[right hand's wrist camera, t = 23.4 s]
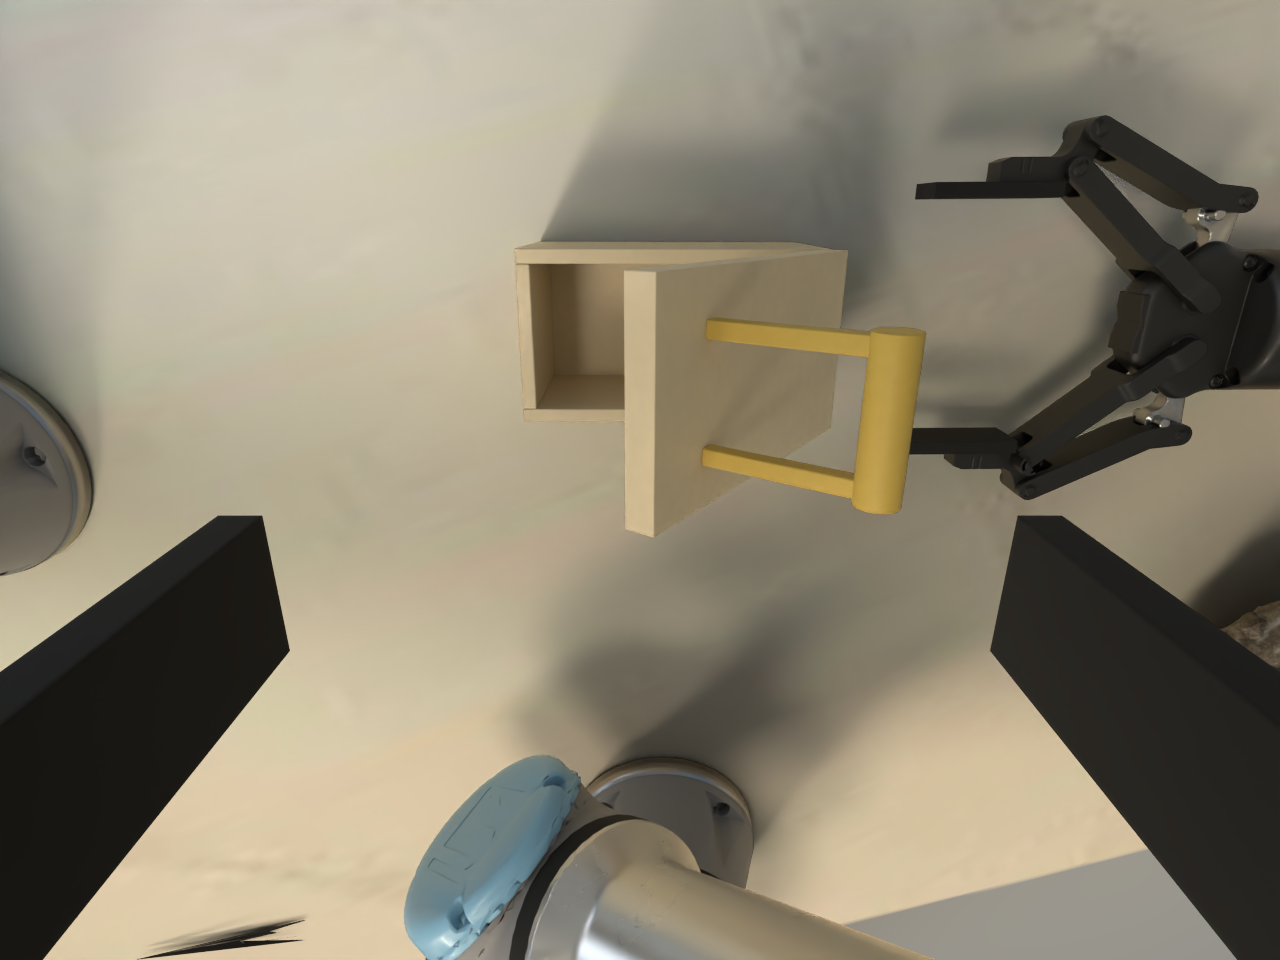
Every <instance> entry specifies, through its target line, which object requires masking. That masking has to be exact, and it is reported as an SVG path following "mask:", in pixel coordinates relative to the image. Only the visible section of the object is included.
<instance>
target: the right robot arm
mask: <svg viewBox="0 0 1280 960" xmlns="http://www.w3.org/2000/svg"><path fill="white" fill-rule="evenodd" d="M90 504H91V481H90V476H89V471H88V467H87V464H86V461H85V458H84V456H83V453H82V451H81V449H80V447H79V445H78V442H77V441H76V439H75V437H74V436H73V434H72V432H71V431H70V429H69V428H68V427H67V425H66V424H65V422H64V421H63V420H62V419H61V417H60V416H59V415H58V414H57V413H56V412H55V411H54V410H53V409H52V407H51V406H50V405H49V404H48V403H47V402H45V401H44V400H43V399H42V398H41V397H40V396H39V395H38V394H36V393H35V392H34V391H32V390H31V389H30V388H28V387H27V386H26V385H24V384H23V383H21V382H19V381H18V380H16V379H15V378H13V377H11V376H9V375H7V374H6V373H4V372H1V371H0V576H5V575H10V574H14V573H18V572H21V571H25V570H28V569H30V568H32V567H35V566H37V565H38V564H40V563H42V562H44V561H46V560H47V559H49V558H51V557H52V556H54V555H56V554H58V553H59V552H61V551H62V550H64V549H65V548H66V547H68V546H69V545H70V544H71V543H72V542H73V541H74V540H75V538H76V537H77V536H78V535H79V533H80V532H81V530H82V528H83V527H84V524H85V522H86V520H87V517H88V514H89V510H90ZM289 651H290V649H289V644H288V639H287V635H286V630H285V625H284V620H283V615H282V610H281V605H280V600H279V595H278V590H277V586H276V581H275V576H274V571H273V566H272V561H271V556H270V551H269V546H268V541H267V537H266V532H265V527H264V522H263V517H262V516H217V517H216V518H214V519H213V520H211V521H210V522H209V523H207V524H206V525H205V526H203V527H202V528H200V529H199V530H198V531H196V532H195V533H193V534H192V535H191V536H189V537H188V538H186V539H185V540H184V541H182V542H181V543H179V544H178V545H177V546H175V547H174V548H172V549H171V550H170V551H168V552H167V553H165V554H164V555H163V556H161V557H160V558H159V559H157V560H156V561H154V562H153V563H152V564H150V565H149V566H147V567H146V568H145V569H143V570H142V571H140V572H139V573H138V574H136V575H135V576H133V577H132V578H131V579H129V580H128V581H126V582H125V583H124V584H122V585H121V586H120V587H118V588H117V589H115V590H114V591H113V592H111V593H110V594H108V595H107V596H106V597H104V598H103V599H101V600H100V601H99V602H97V603H96V604H94V605H93V606H92V607H90V608H89V609H87V610H86V611H85V612H83V613H82V614H80V615H79V616H78V617H76V618H75V619H74V620H72V621H71V622H69V623H68V624H67V625H65V626H64V627H62V628H61V629H60V630H58V631H57V632H55V633H54V634H53V635H51V636H50V637H48V638H47V639H46V640H44V641H43V642H41V643H40V644H39V645H37V646H36V647H34V648H33V649H32V650H30V651H29V652H28V653H26V654H25V655H23V656H22V657H21V658H19V659H18V660H16V661H15V662H14V663H12V664H11V665H9V666H8V667H7V668H5V669H4V670H2V671H1V672H0V960H43V959H44V957H45V956H46V955H47V954H48V952H49V951H50V950H51V949H52V947H53V946H54V945H55V944H56V942H57V941H58V940H59V939H60V937H61V936H62V935H63V934H64V932H65V931H66V930H67V929H68V927H69V926H70V925H71V924H72V922H73V921H74V920H75V919H76V917H77V916H78V915H79V914H80V912H81V911H82V910H83V909H84V907H85V906H86V905H87V904H88V902H89V901H90V900H91V899H92V897H93V896H94V895H95V894H96V892H97V891H98V890H99V889H100V887H101V886H102V885H103V884H104V882H105V881H106V880H107V879H108V877H109V876H110V875H111V874H112V872H113V871H114V870H115V869H116V867H117V866H118V865H119V864H120V862H121V861H122V860H123V859H124V857H125V856H126V855H127V854H128V852H129V851H130V850H131V849H132V847H133V846H134V845H135V844H136V842H137V841H138V840H139V839H140V837H141V836H142V835H143V834H144V832H145V831H146V830H147V829H148V827H149V826H150V825H151V824H152V822H153V821H154V820H155V819H156V817H157V816H158V815H159V814H160V812H161V811H162V810H163V809H164V807H165V806H166V805H167V804H168V802H169V801H170V800H171V799H172V797H173V796H174V795H175V794H176V792H177V791H178V790H179V789H180V787H181V786H182V785H183V784H184V782H185V781H186V780H187V779H188V777H189V776H190V775H191V774H192V772H193V771H194V770H195V769H196V767H197V766H198V765H199V764H200V762H201V761H202V760H203V759H204V757H205V756H206V755H207V754H208V752H209V751H210V750H211V749H212V747H213V746H214V745H215V744H216V742H217V741H218V740H219V739H220V737H221V736H222V735H223V734H224V732H225V731H226V730H227V729H228V727H229V726H230V725H231V724H232V722H233V721H234V720H235V719H236V717H237V716H238V715H239V714H240V712H241V711H242V710H243V709H244V707H245V706H246V705H247V704H248V702H249V701H250V700H251V699H252V697H253V696H254V695H255V694H256V692H257V691H258V690H259V689H260V687H261V686H262V685H263V684H264V682H265V681H266V680H267V679H268V677H269V676H270V675H271V674H272V672H273V671H274V670H275V669H276V667H277V666H278V665H279V664H280V662H281V661H282V660H283V659H284V657H285V656H286V655H287V654H288V652H289ZM990 651H991V652H992V654H993V655H994V656H995V657H996V659H997V660H998V661H999V662H1000V664H1001V665H1002V666H1003V667H1004V669H1005V670H1006V671H1007V672H1008V674H1009V675H1010V676H1011V677H1012V679H1013V680H1014V681H1015V682H1016V684H1017V685H1018V686H1019V687H1020V689H1021V690H1022V691H1023V692H1024V694H1025V695H1026V696H1027V697H1028V699H1029V700H1030V701H1031V702H1032V704H1033V705H1034V706H1035V707H1036V709H1037V710H1038V711H1039V712H1040V714H1041V715H1042V716H1043V717H1044V719H1045V720H1046V721H1047V722H1048V724H1049V725H1050V726H1051V727H1052V729H1053V730H1054V731H1055V732H1056V734H1057V735H1058V736H1059V737H1060V739H1061V740H1062V741H1063V742H1064V744H1065V745H1066V746H1067V747H1068V749H1069V750H1070V751H1071V752H1072V754H1073V755H1074V756H1075V757H1076V759H1077V760H1078V761H1079V762H1080V764H1081V765H1082V766H1083V767H1084V769H1085V770H1086V771H1087V772H1088V774H1089V775H1090V776H1091V777H1092V779H1093V780H1094V781H1095V782H1096V784H1097V785H1098V786H1099V787H1100V789H1101V790H1102V791H1103V792H1104V794H1105V795H1106V796H1107V797H1108V799H1109V800H1110V801H1111V802H1112V804H1113V805H1114V806H1115V807H1116V809H1117V810H1118V811H1119V812H1120V814H1121V815H1122V816H1123V817H1124V819H1125V820H1126V821H1127V822H1128V824H1129V825H1130V826H1131V827H1132V829H1133V830H1134V831H1135V832H1136V834H1137V835H1138V836H1139V837H1140V839H1141V840H1142V841H1143V842H1144V844H1145V845H1146V846H1147V847H1148V849H1149V850H1150V851H1151V852H1152V854H1153V855H1154V856H1155V857H1156V859H1157V860H1158V861H1159V862H1160V864H1161V865H1162V866H1163V867H1164V869H1165V870H1166V871H1167V872H1168V874H1169V875H1170V876H1171V877H1172V879H1173V880H1174V881H1175V882H1176V884H1177V885H1178V886H1179V887H1180V889H1181V890H1182V891H1183V892H1184V894H1185V895H1186V896H1187V897H1188V899H1189V900H1190V901H1191V902H1192V904H1193V905H1194V906H1195V907H1196V909H1197V910H1198V911H1199V912H1200V914H1201V915H1202V916H1203V917H1204V919H1205V920H1206V921H1207V922H1208V924H1209V925H1210V926H1211V927H1212V929H1213V930H1214V931H1215V932H1216V934H1217V935H1218V936H1219V937H1220V939H1221V940H1222V941H1223V942H1224V944H1225V945H1226V946H1227V947H1228V949H1229V950H1230V951H1231V952H1232V954H1233V955H1234V956H1235V957H1236V959H1237V960H1280V669H1278V668H1276V667H1274V666H1272V665H1269V664H1268V663H1266V662H1265V661H1264V660H1262V659H1261V658H1259V657H1258V656H1257V655H1255V654H1254V653H1252V652H1251V651H1250V650H1248V649H1247V648H1246V647H1244V646H1243V645H1241V644H1240V643H1239V642H1237V641H1236V640H1234V639H1233V638H1232V637H1230V636H1229V635H1227V634H1226V633H1225V632H1223V631H1222V630H1220V629H1219V628H1218V627H1216V626H1215V625H1213V624H1212V623H1211V622H1209V621H1208V620H1206V619H1205V618H1204V617H1202V616H1201V615H1200V614H1198V613H1197V612H1195V611H1194V610H1193V609H1191V608H1190V607H1188V606H1187V605H1186V604H1184V603H1183V602H1181V601H1180V600H1179V599H1177V598H1176V597H1174V596H1173V595H1172V594H1170V593H1169V592H1167V591H1166V590H1165V589H1163V588H1162V587H1160V586H1159V585H1158V584H1156V583H1155V582H1154V581H1152V580H1151V579H1149V578H1148V577H1147V576H1145V575H1144V574H1142V573H1141V572H1140V571H1138V570H1137V569H1135V568H1134V567H1133V566H1131V565H1130V564H1128V563H1127V562H1126V561H1124V560H1123V559H1121V558H1120V557H1119V556H1117V555H1116V554H1115V553H1113V552H1112V551H1110V550H1109V549H1108V548H1106V547H1105V546H1103V545H1102V544H1101V543H1099V542H1098V541H1096V540H1095V539H1094V538H1092V537H1091V536H1089V535H1088V534H1087V533H1085V532H1084V531H1082V530H1081V529H1080V528H1078V527H1077V526H1075V525H1074V524H1073V523H1071V522H1070V521H1069V520H1067V519H1066V518H1064V517H1063V516H1018V517H1017V522H1016V527H1015V532H1014V537H1013V541H1012V546H1011V551H1010V556H1009V561H1008V566H1007V571H1006V576H1005V581H1004V586H1003V590H1002V595H1001V600H1000V605H999V610H998V615H997V620H996V625H995V630H994V635H993V639H992V644H991V649H990Z"/></svg>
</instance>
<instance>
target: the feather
mask: <svg viewBox="0 0 1280 960" xmlns="http://www.w3.org/2000/svg"><path fill="white" fill-rule="evenodd" d="M302 921H304V920H302ZM298 922H299V923H300V922H301V921H298ZM298 922H293V923H289V924H285V925H281V926H276V927H272V928H268V929H264V930H259V931H255V932H251V933H247V934H243V935H238V936H234V937H230V938H226V939H221V940H217V941H213V942H209V943H204V944H200V945H196V946H192V947H187V948H183V949H179V950H175V951H170V952H166V953H162V954H158V955H153V956H149V957H145V958H154V957H163V956H171V955H180V954H189V953H197V952H206V951H215V950H223V949H232V948H241V947H249V946H258V945H267V944H276V943H284V942H293V941H301V940H275V939H273V940H271V941H268V940H265V941H244V940H248V939H251V938H255V937H260V936H264V935H269V934H274V933H276V932H270V931H272V930H275V929H279V928H282V927H285V926H288V925H292V924H295V923H298ZM288 931H289V930H288ZM278 933H279V932H278ZM295 937H296V936H295ZM288 938H289V937H288ZM281 939H282V938H281ZM145 958H141V959H145ZM137 960H138V959H137Z"/></svg>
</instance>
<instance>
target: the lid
mask: <svg viewBox="0 0 1280 960" xmlns="http://www.w3.org/2000/svg"><path fill="white" fill-rule="evenodd" d="M847 258H848V250H815V251H805V252H795V253H785V254H775V255H766V256H756V257H746V258H736V259H726V260H716V261H706V262H696V263H687V264H677V265H667V266H657V267H647V268H637V269H627V270H624V374H625V528H626V529H627V530H630V531H634V532H637V533H640V534H643V535H647V536H650V537H655V536H657V535H658V534H660V533H662V532H663V531H665V530H666V529H668V528H670V527H671V526H673V525H675V524H676V523H678V522H679V521H681V520H683V519H684V518H686V517H687V516H689V515H691V514H692V513H694V512H696V511H697V510H699V509H700V508H702V507H704V506H705V505H707V504H708V503H710V502H712V501H713V500H715V499H717V498H718V497H720V496H721V495H723V494H725V493H726V492H728V491H729V490H731V489H733V488H734V487H736V486H738V485H739V484H741V483H742V482H744V481H746V480H747V479H749V478H750V477H757V478H761V479H766V480H770V481H775V482H779V483H783V484H788V485H792V486H797V487H801V488H806V489H810V490H815V491H819V492H824V493H828V494H833V495H837V496H841V497H846V498H850V499H851V503H852V505H853V506H854V507H855V508H857V509H859V510H861V511H864V512H868V513H873V514H893V513H896V512H898V511H899V510H900V509H901V506H902V499H903V492H904V485H905V478H906V471H907V464H908V457H909V450H910V443H911V436H912V429H913V422H914V415H915V408H916V401H917V394H918V387H919V380H920V373H921V366H922V359H923V352H924V345H925V338H926V332H925V331H922V330H919V329H913V328H904V327H879V328H874V329H872V330H871V332H869V331H858V330H847V329H840V327H841V318H842V308H843V298H844V288H845V278H846V268H847ZM838 354H841V355H850V356H859V357H868V359H867V367H866V376H865V385H864V394H863V402H862V411H861V420H860V428H859V437H858V446H857V454H856V463H855V472H854V473H850V472H845V471H840V470H835V469H830V468H825V467H820V466H815V465H810V464H805V463H801V462H796V461H791V460H786V459H781V458H783V457H784V456H786V455H788V454H789V453H791V452H792V451H794V450H796V449H797V448H799V447H801V446H802V445H804V444H805V443H807V442H809V441H810V440H812V439H813V438H815V437H817V436H818V435H820V434H822V433H823V432H825V431H826V430H828V429H830V427H831V417H832V407H833V397H834V387H835V377H836V367H837V357H838Z"/></svg>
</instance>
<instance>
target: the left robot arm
mask: <svg viewBox="0 0 1280 960" xmlns="http://www.w3.org/2000/svg"><path fill="white" fill-rule="evenodd" d="M1093 161H1094V162H1095V163H1097V164H1099V165H1100V166H1102V167H1104V168H1105V169H1107V170H1109V171H1110V172H1112V173H1114V174H1115V175H1117V176H1119V177H1120V178H1122V179H1124V180H1125V181H1127V182H1129V183H1130V184H1132V185H1134V186H1135V187H1137V188H1139V189H1140V190H1142V191H1144V192H1145V193H1147V194H1149V195H1150V196H1152V197H1154V198H1155V199H1157V200H1159V201H1160V202H1162V203H1164V204H1166V205H1168V206H1170V207H1173V208H1176V209H1180V210H1185V211H1184V212H1183V214H1182V219H1183V220H1186V222H1187V224H1188V225H1190V226H1192V227H1194V228H1195V229H1196V230H1197V233H1198V237H1197V241H1195V242H1192V243H1189V244H1188V245H1186V246H1184V247H1183V248H1181V249H1180V250H1178V249H1177V248H1175V247H1174V246H1172V245H1170V244H1168V243H1166V242H1165V241H1164V240H1163V239H1162V238H1161V237H1160V236H1159V235H1158V234H1157V233H1156V231H1155V230H1154V229H1153V228H1152V227H1151V226H1150V225H1149V224H1148V223H1147V221H1146V220H1145V219H1144V218H1143V217H1142V216H1141V215H1140V214H1139V212H1138V211H1137V210H1136V209H1135V208H1134V207H1133V206H1132V205H1131V203H1130V202H1129V201H1128V200H1127V199H1126V198H1125V197H1124V196H1123V194H1122V193H1121V192H1120V191H1119V190H1118V189H1117V188H1116V187H1115V185H1114V184H1113V183H1112V182H1111V181H1110V180H1109V179H1108V178H1107V177H1106V175H1105V174H1104V173H1103V172H1102V171H1101V170H1100V169H1099V168H1098V166H1097V165H1096V164H1095V163H1094V162H1093ZM1058 197H1061V198H1062V199H1063V200H1064V201H1065V202H1066V204H1067V205H1068V206H1069V207H1070V208H1071V209H1072V210H1073V211H1074V212H1075V213H1076V214H1077V215H1078V217H1079V218H1080V219H1081V220H1082V221H1083V222H1084V223H1085V224H1086V225H1087V226H1088V227H1089V228H1090V230H1091V231H1092V232H1093V233H1094V234H1095V235H1096V236H1097V237H1098V238H1099V239H1100V240H1101V242H1102V243H1103V244H1104V245H1105V246H1106V247H1107V248H1108V249H1109V250H1110V251H1111V252H1112V253H1113V255H1114V256H1115V257H1116V263H1117V264H1118V266H1119V267H1120V268H1121V269H1122V270H1123V271H1124V272H1125V273H1126V274H1127V275H1128V276H1129V277H1130V279H1131V280H1132V282H1131V283H1130V284H1129V286H1128V287H1127V289H1126V291H1120V295H1119V300H1118V304H1117V312H1118V320H1117V322H1116V324H1115V326H1114V328H1113V330H1112V332H1111V335H1110V340H1109V344H1108V347H1110V348H1112V349H1113V354H1114V355H1113V356H1111V357H1110V358H1108V359H1107V360H1106V361H1104V362H1103V363H1101V364H1100V365H1099V366H1097V367H1096V368H1094V369H1093V370H1092V372H1091V376H1090V377H1089V378H1088V379H1086V380H1085V381H1084V382H1082V383H1081V384H1079V385H1078V386H1077V387H1075V388H1074V389H1072V390H1071V391H1070V392H1068V393H1067V394H1065V395H1064V396H1063V397H1061V398H1060V399H1058V400H1057V401H1056V402H1054V403H1053V404H1051V405H1050V406H1049V407H1047V408H1046V409H1044V410H1043V411H1041V412H1040V413H1039V414H1037V415H1036V416H1034V417H1033V418H1032V419H1030V420H1029V421H1027V422H1026V423H1025V424H1023V425H1022V426H1020V427H1019V428H1018V429H1016V430H1015V431H1013V432H1012V433H1011V434H1009V435H1007V434H1005V433H1004V432H1002V431H1001V430H999V429H997V428H913V429H912V436H911V443H910V450H909V454H944V459H946V460H947V461H948V462H949V463H951V464H952V465H953V466H955V467H958V468H960V469H1001V471H1002V473H1001V475H1000V481H1001V482H1002V484H1004V485H1005V486H1006V487H1008V488H1009V489H1010V490H1012V491H1013V492H1014V493H1016V494H1017V495H1018V496H1020V497H1021V498H1023V499H1024V500H1030V499H1034V498H1036V497H1038V496H1041V495H1043V494H1045V493H1048V492H1050V491H1052V490H1055V489H1057V488H1059V487H1062V486H1064V485H1066V484H1069V483H1071V482H1073V481H1076V480H1078V479H1080V478H1083V477H1085V476H1087V475H1090V474H1092V473H1094V472H1097V471H1099V470H1101V469H1104V468H1106V467H1108V466H1111V465H1113V464H1115V463H1118V462H1120V461H1122V460H1125V459H1127V458H1129V457H1132V456H1134V455H1136V454H1139V453H1141V452H1143V451H1146V450H1148V449H1152V448H1161V447H1170V446H1179V445H1183V444H1185V443H1187V442H1188V441H1189V440H1190V438H1191V436H1192V430H1191V428H1190V427H1189V426H1187V425H1184V424H1182V423H1181V421H1182V415H1183V408H1184V402H1185V397H1188V396H1190V395H1192V394H1194V393H1196V392H1199V391H1202V390H1233V389H1280V250H1237V249H1235V248H1233V247H1232V246H1230V245H1229V244H1227V242H1228V240H1229V237H1230V234H1231V232H1232V229H1233V226H1234V224H1235V221H1236V219H1237V216H1238V213H1245V212H1248V211H1250V210H1251V209H1253V208H1254V207H1255V205H1256V203H1257V202H1258V197H1259V196H1258V192H1257V191H1256V190H1255V189H1254V188H1251V187H1242V186H1234V185H1225V184H1219V183H1217V182H1215V181H1214V180H1212V179H1210V178H1209V177H1207V176H1206V175H1204V174H1202V173H1201V172H1199V171H1197V170H1196V169H1194V168H1193V167H1191V166H1189V165H1188V164H1186V163H1184V162H1183V161H1181V160H1180V159H1178V158H1176V157H1175V156H1173V155H1171V154H1170V153H1168V152H1167V151H1165V150H1163V149H1162V148H1160V147H1158V146H1157V145H1155V144H1154V143H1152V142H1150V141H1149V140H1147V139H1145V138H1144V137H1142V136H1141V135H1139V134H1137V133H1136V132H1134V131H1133V130H1131V129H1129V128H1128V127H1126V126H1124V125H1123V124H1121V123H1120V122H1118V121H1116V120H1115V119H1113V118H1111V117H1109V116H1106V115H1105V116H1099V117H1094V118H1089V119H1085V120H1080V121H1075V122H1072V123H1070V124H1069V125H1068V126H1067V127H1066V128H1065V130H1064V132H1063V143H1062V145H1061V147H1060V148H1059V150H1058V151H1057V152H1056V153H1055V154H1054V155H1053V156H1051V157H1010V158H1003V159H998V160H996V161H993V162H991V163H989V165H988V172H987V178H986V182H934V183H924V184H917V188H916V197H915V199H1009V198H1058ZM1128 372H1130V373H1131V374H1130V375H1127V374H1126V373H1128ZM1151 391H1153V392H1155V393H1157V396H1156V399H1155V401H1154V402H1153V403H1152V404H1150V405H1148V406H1146V407H1143V408H1137V409H1135V410H1134V412H1133V417H1127V418H1123V419H1119V420H1116V421H1114V422H1111V423H1109V424H1106V425H1104V426H1102V427H1100V428H1097V429H1095V430H1093V431H1090V432H1088V433H1086V434H1084V435H1081V436H1079V437H1077V436H1078V435H1079V434H1081V433H1082V432H1084V431H1085V430H1087V429H1088V428H1090V427H1091V426H1092V425H1094V424H1095V423H1097V422H1098V421H1100V420H1101V419H1103V418H1104V417H1105V416H1107V415H1108V414H1110V413H1111V412H1113V411H1114V410H1116V409H1117V408H1118V407H1120V406H1121V405H1123V404H1124V403H1126V402H1129V401H1135V400H1138V399H1140V398H1142V397H1143V396H1145V395H1146V394H1148V393H1149V392H1151ZM1075 437H1077V438H1075ZM753 847H754V837H753V830H752V825H751V819H750V814H749V810H748V807H747V805H746V802H745V800H744V798H743V796H742V795H741V794H740V792H739V791H738V789H737V788H736V787H735V786H734V785H733V784H732V783H731V782H730V781H729V780H728V779H727V778H725V777H724V776H723V775H721V774H720V773H718V772H716V771H715V770H713V769H711V768H709V767H707V766H704V765H702V764H699V763H696V762H692V761H689V760H684V759H678V758H666V757H659V758H646V759H640V760H635V761H632V762H628V763H625V764H623V765H620V766H617V767H615V768H613V769H611V770H609V771H608V772H606V773H604V774H603V775H601V776H600V777H599V778H597V779H596V780H595V781H594V782H593V783H592V784H590V786H589V787H588V788H587V789H586V788H585V787H584V786H583V785H582V784H581V778H580V777H578V774H577V772H575V771H573V770H571V771H570V770H569V769H568V768H567V767H566V766H565V765H564V764H563V762H561V761H560V760H559V759H557V758H555V757H553V756H549V755H537V756H531V757H528V758H525V759H522V760H520V761H518V762H516V763H514V764H512V765H510V766H508V767H507V768H505V769H503V770H502V771H500V772H499V773H498V774H496V775H495V776H494V777H493V778H491V779H490V780H488V781H487V782H486V783H485V784H483V785H482V786H481V787H480V788H479V789H478V790H477V791H475V792H474V793H473V794H472V795H471V796H470V797H469V798H468V799H467V800H466V801H465V802H464V803H463V804H462V805H461V807H460V808H459V809H458V810H457V811H456V812H455V813H454V814H453V816H452V817H451V818H450V819H449V820H448V822H447V823H446V824H445V825H444V827H443V828H442V829H441V831H440V832H439V833H438V835H437V836H436V838H435V839H434V841H433V842H432V844H431V845H430V847H429V848H428V850H427V852H426V853H425V855H424V857H423V858H422V860H421V862H420V864H419V866H418V868H417V870H416V874H415V877H414V878H413V880H412V882H411V885H410V887H409V890H408V894H407V898H406V903H405V909H404V922H405V928H406V931H407V934H408V936H409V938H410V940H411V941H412V942H413V944H414V945H415V946H416V947H417V948H418V949H419V950H420V951H421V952H422V953H423V954H424V956H425V957H426V959H425V960H935V959H933V958H930V957H927V956H925V955H922V954H919V953H917V952H914V951H911V950H908V949H906V948H903V947H900V946H898V945H895V944H892V943H889V942H887V941H884V940H881V939H878V938H876V937H873V936H870V935H868V934H865V933H862V932H860V931H857V930H854V929H852V928H849V927H846V926H843V925H841V924H838V923H835V922H833V921H830V920H827V919H825V918H822V917H819V916H816V915H814V914H811V913H808V912H806V911H803V910H800V909H798V908H795V907H792V906H789V905H787V904H784V903H781V902H779V901H776V900H773V899H770V898H768V897H765V896H762V895H760V894H757V893H754V892H752V891H749V890H746V889H745V888H746V883H747V878H748V873H749V868H750V863H751V858H752V854H753Z"/></svg>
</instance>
